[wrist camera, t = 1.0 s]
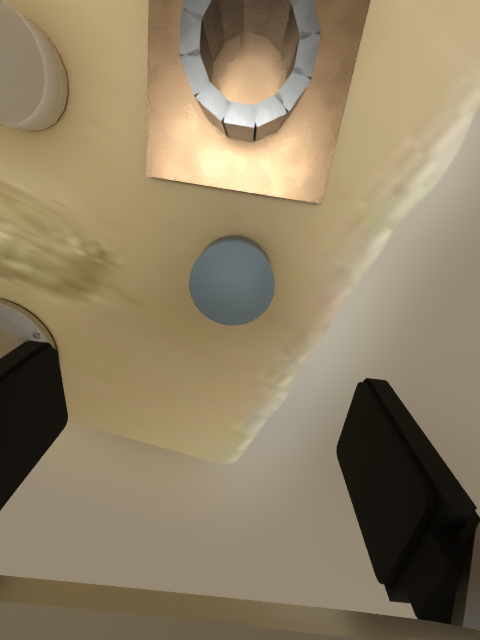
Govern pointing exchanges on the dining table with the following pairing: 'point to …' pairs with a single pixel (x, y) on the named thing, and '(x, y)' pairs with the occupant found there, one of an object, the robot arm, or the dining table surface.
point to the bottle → (28, 74)
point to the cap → (232, 281)
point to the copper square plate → (249, 91)
